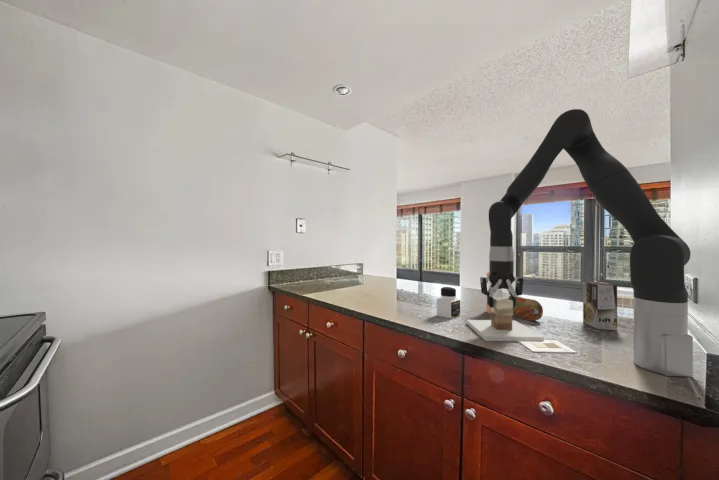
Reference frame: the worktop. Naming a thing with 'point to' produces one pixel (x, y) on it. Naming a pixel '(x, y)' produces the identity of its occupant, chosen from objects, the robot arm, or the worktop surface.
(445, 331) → the worktop surface
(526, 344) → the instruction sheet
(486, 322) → the base plate
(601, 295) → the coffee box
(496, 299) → the birch block
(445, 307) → the medicine bottle
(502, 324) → the walnut block
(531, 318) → the tin
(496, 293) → the pepper shaker
